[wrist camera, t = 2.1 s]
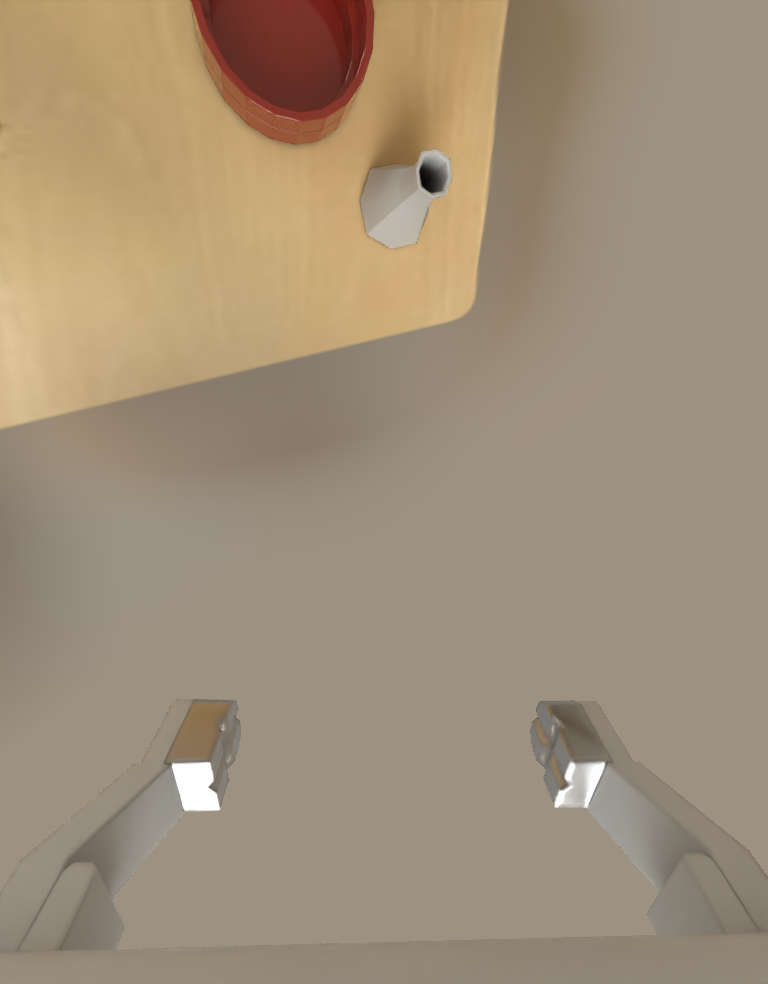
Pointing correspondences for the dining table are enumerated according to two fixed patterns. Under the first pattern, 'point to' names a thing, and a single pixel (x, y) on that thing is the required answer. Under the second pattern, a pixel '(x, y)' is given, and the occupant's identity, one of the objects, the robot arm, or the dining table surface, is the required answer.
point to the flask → (403, 197)
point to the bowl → (287, 60)
